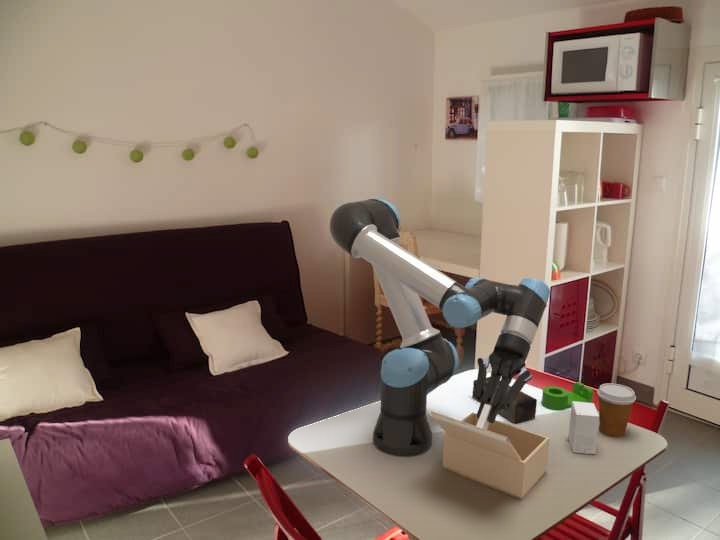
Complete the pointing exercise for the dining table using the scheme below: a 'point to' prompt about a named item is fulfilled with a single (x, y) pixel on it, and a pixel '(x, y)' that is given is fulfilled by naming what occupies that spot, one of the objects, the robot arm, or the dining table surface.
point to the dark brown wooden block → (515, 405)
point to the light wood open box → (499, 459)
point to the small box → (583, 427)
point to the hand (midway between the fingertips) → (479, 434)
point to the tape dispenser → (565, 396)
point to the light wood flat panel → (476, 435)
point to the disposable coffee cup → (614, 408)
